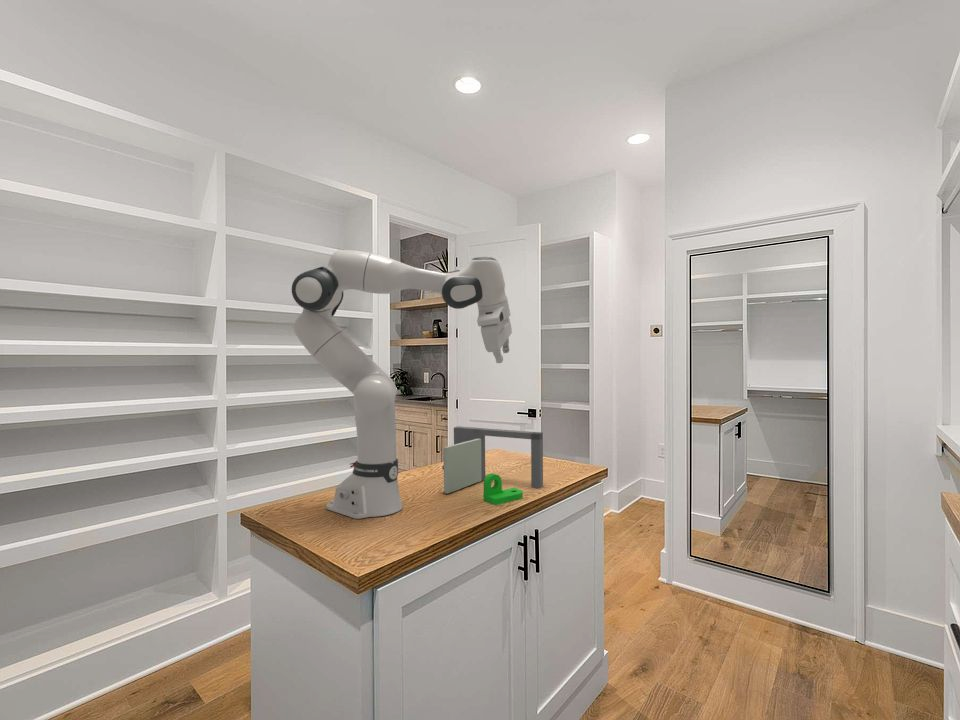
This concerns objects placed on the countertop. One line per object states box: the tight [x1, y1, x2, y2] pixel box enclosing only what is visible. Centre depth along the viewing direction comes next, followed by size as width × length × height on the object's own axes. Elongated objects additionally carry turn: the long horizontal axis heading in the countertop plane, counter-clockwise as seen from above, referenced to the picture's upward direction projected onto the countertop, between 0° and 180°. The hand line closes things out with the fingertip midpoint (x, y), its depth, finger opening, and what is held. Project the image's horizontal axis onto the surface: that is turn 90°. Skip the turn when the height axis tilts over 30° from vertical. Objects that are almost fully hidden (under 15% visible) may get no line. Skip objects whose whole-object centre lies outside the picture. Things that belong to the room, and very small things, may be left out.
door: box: [442, 439, 483, 495], centre depth 159 cm, size 18×3×14 cm, turn 143°
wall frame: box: [453, 426, 544, 489], centre depth 166 cm, size 32×3×18 cm, turn 63°
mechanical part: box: [482, 472, 524, 506], centre depth 147 cm, size 12×6×8 cm, turn 125°
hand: (503, 357), depth 143 cm, fingers open, 8 cm apart
